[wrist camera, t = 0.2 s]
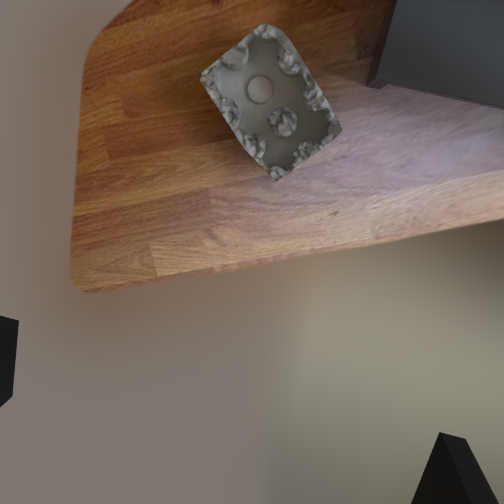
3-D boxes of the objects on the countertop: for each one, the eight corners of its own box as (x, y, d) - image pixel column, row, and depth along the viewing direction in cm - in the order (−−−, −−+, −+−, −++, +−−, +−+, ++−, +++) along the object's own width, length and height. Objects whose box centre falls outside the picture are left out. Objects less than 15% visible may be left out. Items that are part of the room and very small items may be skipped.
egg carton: (202, 77, 39) (190, 71, 35) (276, 21, 37) (272, 8, 33) (271, 182, 40) (267, 188, 36) (345, 133, 39) (349, 133, 35)
